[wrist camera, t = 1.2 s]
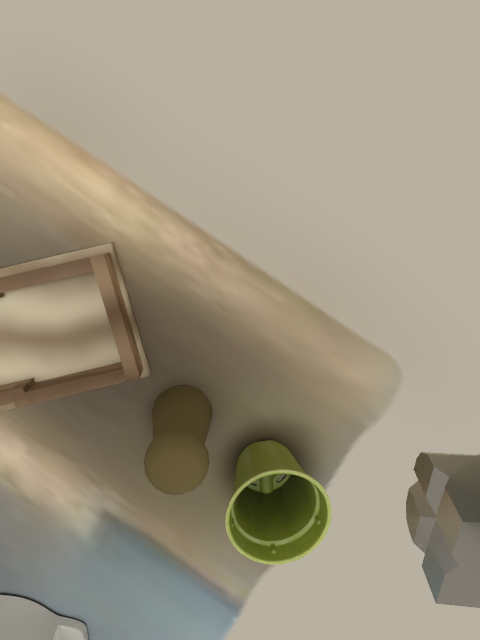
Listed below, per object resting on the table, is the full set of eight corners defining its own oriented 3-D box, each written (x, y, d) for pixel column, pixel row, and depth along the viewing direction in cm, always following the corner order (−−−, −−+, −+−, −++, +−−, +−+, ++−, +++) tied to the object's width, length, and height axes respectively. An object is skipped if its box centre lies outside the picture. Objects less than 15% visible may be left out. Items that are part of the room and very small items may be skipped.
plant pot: (326, 455, 47) (353, 505, 38) (272, 519, 48) (287, 582, 39) (257, 407, 45) (270, 450, 37) (203, 475, 46) (203, 532, 38)
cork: (140, 417, 44) (119, 479, 33) (178, 373, 43) (169, 422, 33) (186, 451, 45) (181, 521, 35) (224, 409, 45) (230, 467, 34)
